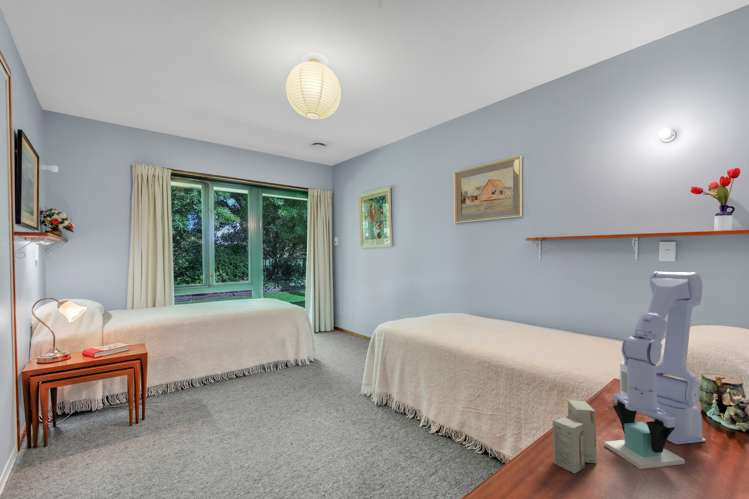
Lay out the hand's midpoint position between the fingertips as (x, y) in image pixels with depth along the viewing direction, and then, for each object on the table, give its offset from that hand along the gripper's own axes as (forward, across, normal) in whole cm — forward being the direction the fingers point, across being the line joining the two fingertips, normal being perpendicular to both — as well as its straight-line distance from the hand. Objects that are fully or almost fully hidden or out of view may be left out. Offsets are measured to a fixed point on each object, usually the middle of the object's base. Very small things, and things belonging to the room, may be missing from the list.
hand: (642, 443), depth 86 cm
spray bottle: (+3, -30, +28) cm, 41 cm away
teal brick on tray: (+2, 0, 0) cm, 2 cm away
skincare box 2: (+3, -2, -15) cm, 15 cm away
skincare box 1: (+3, +1, -21) cm, 21 cm away
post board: (+3, 0, 0) cm, 3 cm away
